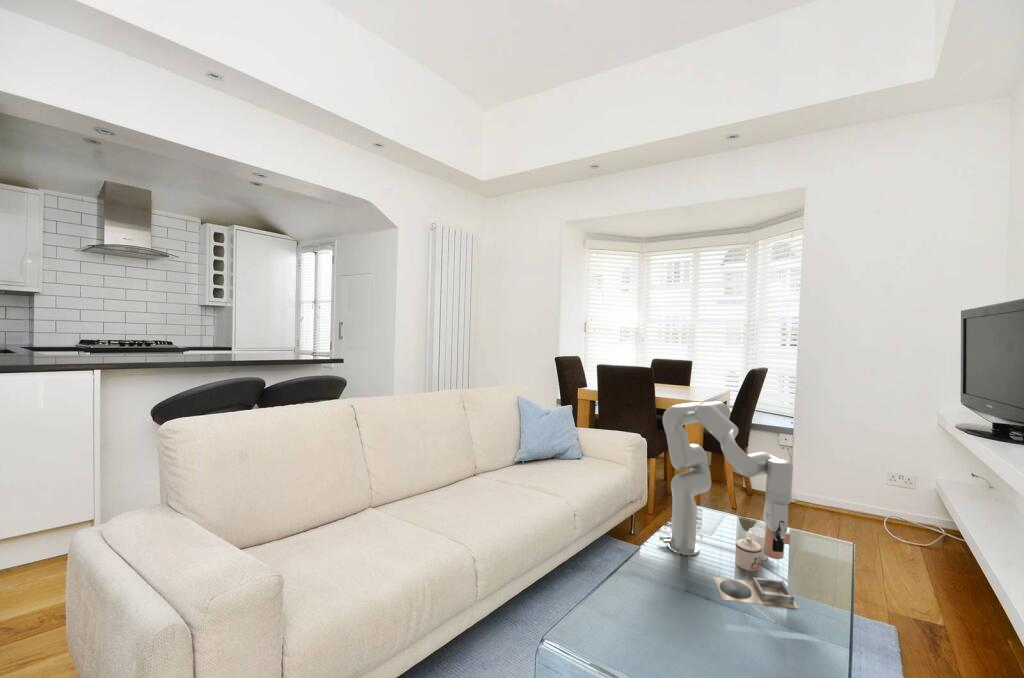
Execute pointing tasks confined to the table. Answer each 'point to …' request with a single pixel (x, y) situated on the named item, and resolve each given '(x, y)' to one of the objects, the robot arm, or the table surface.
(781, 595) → the board
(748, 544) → the teacup with lid
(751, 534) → the white cup
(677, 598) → the table surface
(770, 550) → the peach rounded peg
